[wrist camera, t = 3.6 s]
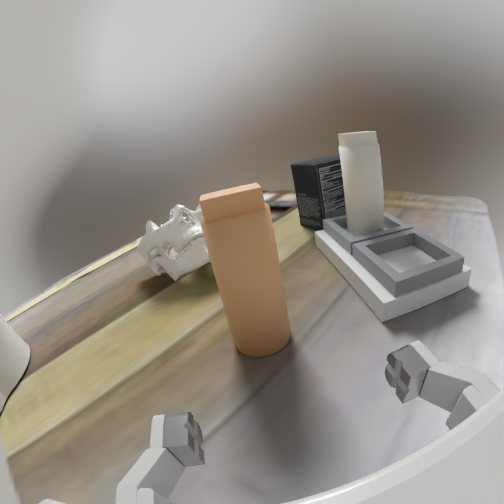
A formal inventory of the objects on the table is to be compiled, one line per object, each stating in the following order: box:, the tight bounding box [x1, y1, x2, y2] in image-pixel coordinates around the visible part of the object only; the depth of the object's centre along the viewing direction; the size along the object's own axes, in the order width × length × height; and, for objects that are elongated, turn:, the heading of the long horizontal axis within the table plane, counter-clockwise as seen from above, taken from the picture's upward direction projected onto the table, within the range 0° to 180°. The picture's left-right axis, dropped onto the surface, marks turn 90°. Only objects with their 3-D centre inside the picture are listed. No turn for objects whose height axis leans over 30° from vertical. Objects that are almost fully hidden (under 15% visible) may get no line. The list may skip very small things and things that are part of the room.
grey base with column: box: [315, 131, 471, 322], centre depth 27 cm, size 18×11×14 cm, turn 7°
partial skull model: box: [138, 204, 211, 281], centre depth 38 cm, size 12×9×10 cm
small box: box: [291, 154, 346, 230], centre depth 44 cm, size 11×6×10 cm, turn 121°
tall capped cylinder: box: [200, 183, 291, 357], centre depth 21 cm, size 5×5×12 cm
